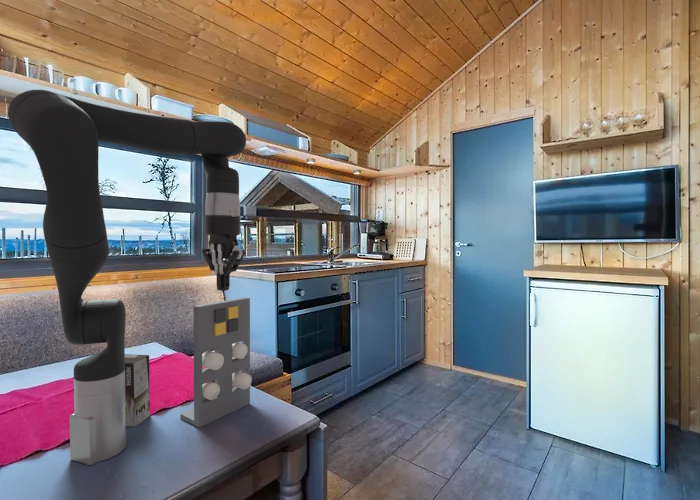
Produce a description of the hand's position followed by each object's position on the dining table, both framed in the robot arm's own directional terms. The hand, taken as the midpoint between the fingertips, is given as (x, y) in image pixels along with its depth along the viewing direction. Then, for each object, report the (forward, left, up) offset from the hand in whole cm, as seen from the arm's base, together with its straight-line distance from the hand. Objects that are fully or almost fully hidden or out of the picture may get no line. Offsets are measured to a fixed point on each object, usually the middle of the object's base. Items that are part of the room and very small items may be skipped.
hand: (223, 290), depth 85 cm
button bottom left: (+6, +9, -29) cm, 31 cm away
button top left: (+5, +8, -21) cm, 23 cm away
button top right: (+15, +7, -21) cm, 26 cm away
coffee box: (-1, +29, -35) cm, 46 cm away
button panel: (+11, +11, -35) cm, 38 cm away
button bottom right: (+14, +5, -29) cm, 33 cm away
